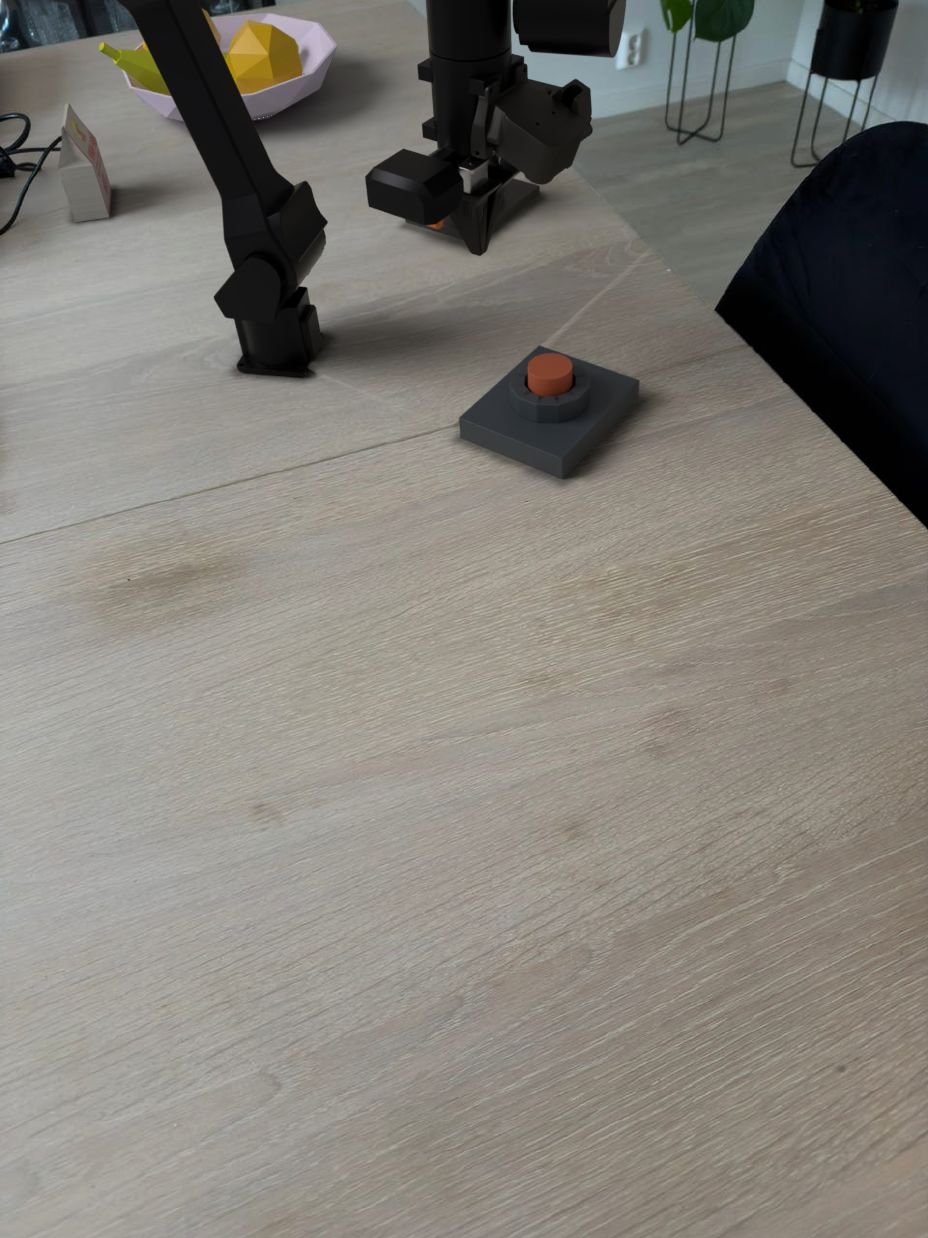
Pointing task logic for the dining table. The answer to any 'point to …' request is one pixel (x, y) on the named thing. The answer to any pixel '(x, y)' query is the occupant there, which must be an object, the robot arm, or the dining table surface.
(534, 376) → the button
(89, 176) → the small milk carton
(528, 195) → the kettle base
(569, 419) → the socket block
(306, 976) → the dining table surface
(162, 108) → the fruit bowl
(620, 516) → the dining table surface
